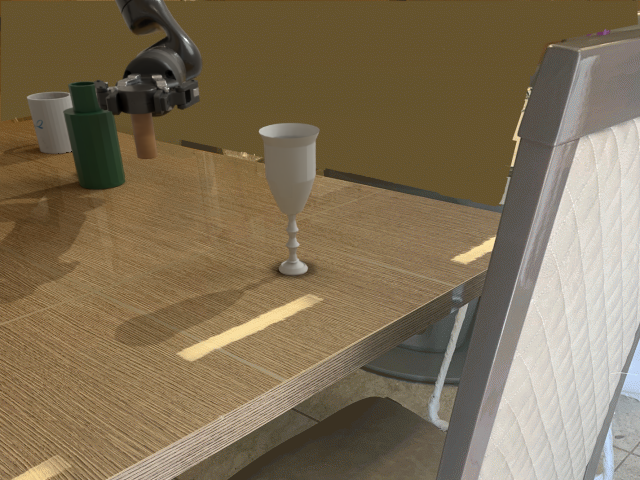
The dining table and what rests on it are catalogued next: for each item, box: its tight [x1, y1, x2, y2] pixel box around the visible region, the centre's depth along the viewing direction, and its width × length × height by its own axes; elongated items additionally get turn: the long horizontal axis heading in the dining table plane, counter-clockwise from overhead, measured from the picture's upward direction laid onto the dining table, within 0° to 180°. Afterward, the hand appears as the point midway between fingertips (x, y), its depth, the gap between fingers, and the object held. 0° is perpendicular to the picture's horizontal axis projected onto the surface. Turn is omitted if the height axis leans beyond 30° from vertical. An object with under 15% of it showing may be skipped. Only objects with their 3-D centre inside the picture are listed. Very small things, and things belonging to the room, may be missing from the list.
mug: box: [26, 91, 73, 155], centre depth 134 cm, size 12×9×10 cm
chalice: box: [258, 122, 321, 276], centre depth 77 cm, size 7×7×18 cm
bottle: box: [63, 80, 126, 190], centre depth 111 cm, size 8×8×16 cm
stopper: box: [118, 85, 159, 160], centre depth 81 cm, size 5×5×8 cm
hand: (135, 105), depth 77 cm, fingers closed on stopper, 4 cm apart
